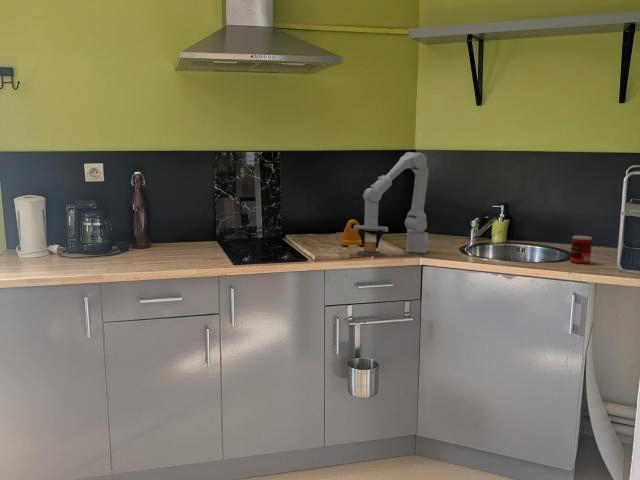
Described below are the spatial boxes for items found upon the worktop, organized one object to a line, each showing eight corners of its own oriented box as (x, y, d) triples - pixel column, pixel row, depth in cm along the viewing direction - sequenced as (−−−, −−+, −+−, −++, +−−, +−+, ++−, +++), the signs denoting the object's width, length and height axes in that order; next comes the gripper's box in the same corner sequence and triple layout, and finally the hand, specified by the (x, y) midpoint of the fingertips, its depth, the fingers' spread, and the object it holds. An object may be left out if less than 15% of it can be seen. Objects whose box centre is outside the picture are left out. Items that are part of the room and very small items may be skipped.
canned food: (589, 262, 260) (592, 236, 258) (589, 265, 252) (592, 238, 251) (570, 260, 263) (572, 234, 261) (569, 263, 255) (571, 237, 254)
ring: (376, 250, 269) (377, 242, 269) (375, 252, 264) (375, 244, 264) (365, 249, 270) (365, 241, 270) (363, 251, 266) (363, 243, 265)
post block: (381, 252, 271) (382, 241, 270) (378, 256, 262) (379, 244, 261) (361, 251, 273) (361, 240, 272) (357, 254, 264) (358, 243, 263)
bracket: (342, 247, 284) (343, 221, 282) (340, 244, 291) (341, 219, 289) (365, 247, 285) (366, 221, 283) (363, 244, 292) (364, 219, 290)
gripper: (353, 216, 263) (352, 247, 265) (386, 218, 259) (385, 249, 262) (356, 214, 270) (355, 245, 272) (389, 216, 266) (387, 247, 268)
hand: (370, 247), depth 267 cm, fingers closed on ring, 5 cm apart
